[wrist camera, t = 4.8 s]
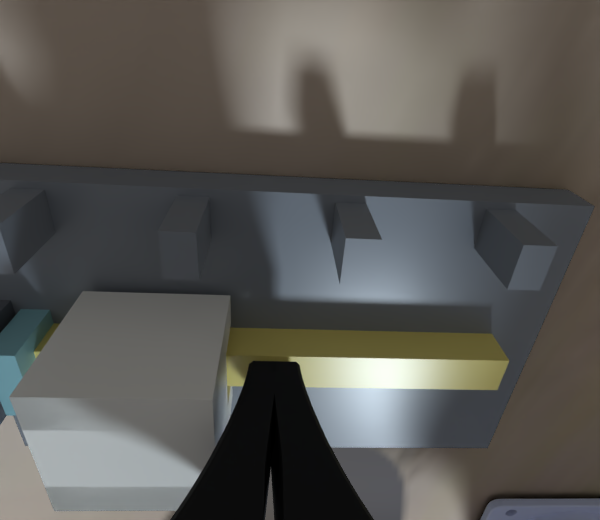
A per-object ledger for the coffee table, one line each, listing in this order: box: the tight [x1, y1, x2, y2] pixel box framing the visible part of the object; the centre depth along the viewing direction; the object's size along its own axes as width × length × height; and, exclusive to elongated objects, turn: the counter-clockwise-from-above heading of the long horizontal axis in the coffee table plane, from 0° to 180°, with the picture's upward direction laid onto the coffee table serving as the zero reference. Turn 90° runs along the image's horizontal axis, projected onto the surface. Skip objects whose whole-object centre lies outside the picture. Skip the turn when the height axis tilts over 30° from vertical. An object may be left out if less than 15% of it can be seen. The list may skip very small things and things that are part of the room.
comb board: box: [0, 163, 595, 448], centre depth 13 cm, size 17×10×3 cm, turn 86°
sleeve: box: [9, 291, 233, 511], centre depth 11 cm, size 4×4×4 cm
